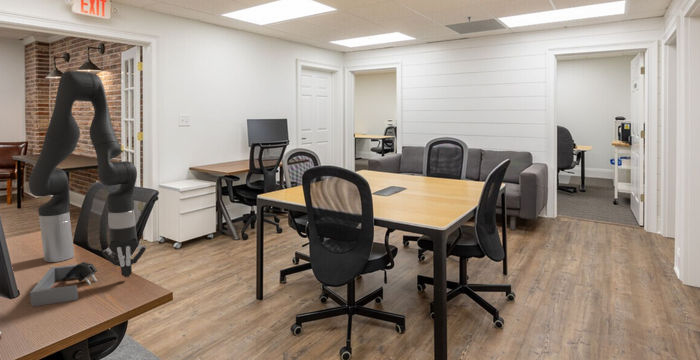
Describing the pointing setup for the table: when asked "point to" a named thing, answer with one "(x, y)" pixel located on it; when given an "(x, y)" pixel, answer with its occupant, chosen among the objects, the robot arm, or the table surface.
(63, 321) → the table surface
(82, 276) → the power plug
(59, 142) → the robot arm
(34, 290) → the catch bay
